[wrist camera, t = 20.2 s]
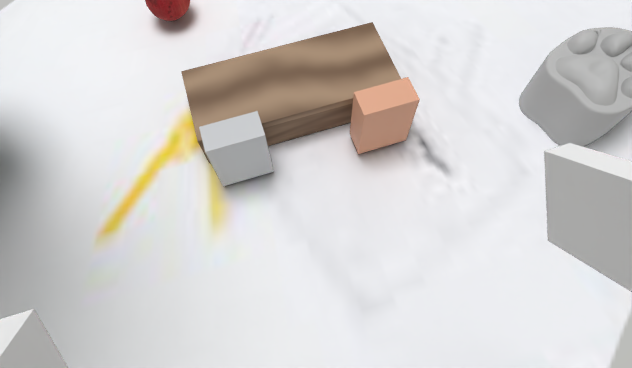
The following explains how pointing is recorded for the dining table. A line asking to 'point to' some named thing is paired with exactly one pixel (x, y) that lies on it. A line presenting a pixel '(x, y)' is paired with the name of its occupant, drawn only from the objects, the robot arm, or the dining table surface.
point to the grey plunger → (237, 148)
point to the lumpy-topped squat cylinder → (582, 86)
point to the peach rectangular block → (382, 114)
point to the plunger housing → (291, 83)
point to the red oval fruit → (168, 8)
